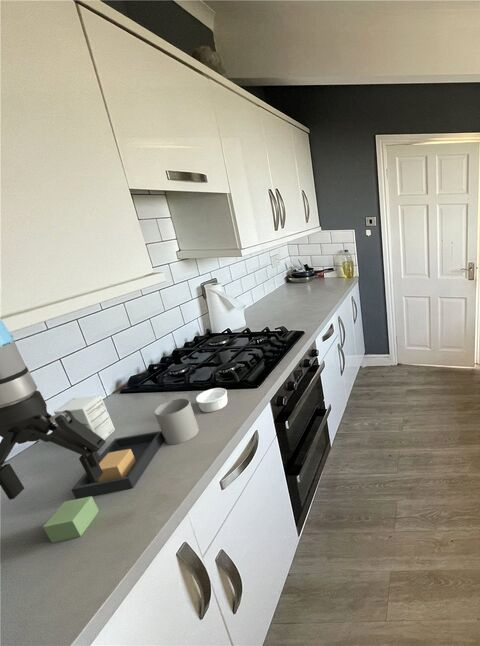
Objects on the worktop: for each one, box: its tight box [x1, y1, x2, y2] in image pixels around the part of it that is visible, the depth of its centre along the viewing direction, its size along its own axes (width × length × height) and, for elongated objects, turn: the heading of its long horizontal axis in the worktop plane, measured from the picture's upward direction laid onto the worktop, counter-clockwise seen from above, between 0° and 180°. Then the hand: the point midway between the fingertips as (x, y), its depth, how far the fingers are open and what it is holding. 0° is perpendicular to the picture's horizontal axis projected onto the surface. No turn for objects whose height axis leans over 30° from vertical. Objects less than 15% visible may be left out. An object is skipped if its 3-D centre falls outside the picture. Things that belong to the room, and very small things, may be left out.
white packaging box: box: [53, 395, 116, 441], centre depth 100 cm, size 7×7×13 cm
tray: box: [70, 430, 165, 499], centre depth 91 cm, size 12×19×3 cm, turn 16°
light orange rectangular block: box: [98, 449, 136, 482], centre depth 88 cm, size 5×6×4 cm
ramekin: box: [195, 387, 229, 413], centre depth 116 cm, size 9×9×4 cm
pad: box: [42, 496, 100, 543], centre depth 75 cm, size 5×6×4 cm
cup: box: [154, 398, 200, 445], centre depth 102 cm, size 8×8×10 cm
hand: (58, 485), depth 72 cm, fingers open, 13 cm apart
